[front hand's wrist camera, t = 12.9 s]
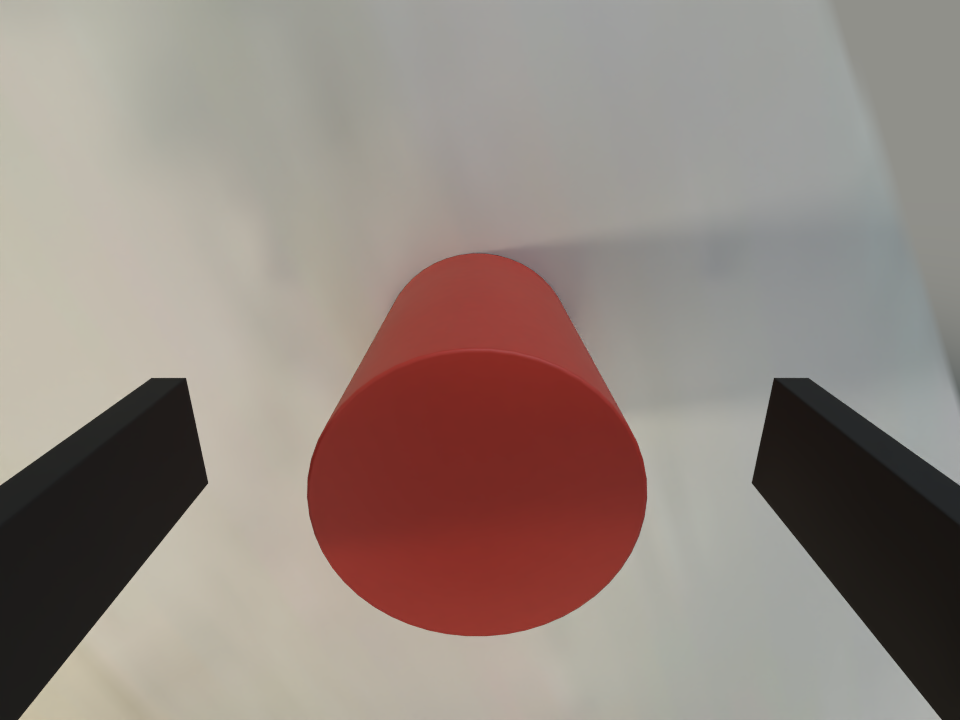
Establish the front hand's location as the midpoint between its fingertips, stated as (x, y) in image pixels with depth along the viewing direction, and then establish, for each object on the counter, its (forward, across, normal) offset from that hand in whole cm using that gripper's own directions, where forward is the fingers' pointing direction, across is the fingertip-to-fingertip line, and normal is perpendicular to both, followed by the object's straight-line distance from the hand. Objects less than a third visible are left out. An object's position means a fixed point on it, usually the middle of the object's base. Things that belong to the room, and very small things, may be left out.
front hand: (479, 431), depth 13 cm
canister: (+7, 0, 0) cm, 7 cm away
